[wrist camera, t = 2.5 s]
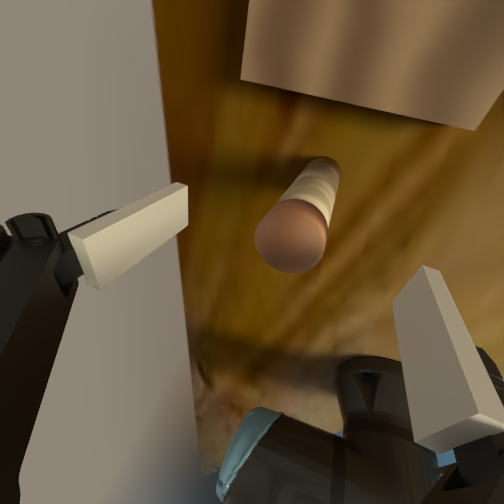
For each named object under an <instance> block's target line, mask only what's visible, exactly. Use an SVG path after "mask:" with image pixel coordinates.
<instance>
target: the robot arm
mask: <svg viewBox="0 0 504 504" xmlns="http://www.w3.org/2000/svg"><path fill="white" fill-rule="evenodd" d="M5 223H6V225H7V227H8V229H9V230H10V232H11V234H12V235H13V236H10V235H8V234H7V232H6V230H5V229H4V227H3V226H1V225H0V504H20V487H19V473H20V468H21V465H22V462H23V459H24V455H25V452H26V449H27V446H28V443H29V440H30V437H31V433H32V430H33V427H34V424H35V421H36V418H37V414H38V411H39V408H40V405H41V402H42V398H43V395H44V392H45V389H46V386H47V383H48V379H49V376H50V373H51V370H52V367H53V364H54V361H55V357H56V354H57V351H58V348H59V345H60V342H61V339H62V335H63V332H64V329H65V326H66V323H67V320H68V316H69V313H70V310H71V307H72V303H73V301H74V297H75V294H76V291H77V288H78V279H77V278H78V277H80V276H81V275H83V274H84V276H85V279H86V281H87V284H89V285H91V286H93V287H95V288H97V289H99V290H102V289H103V288H105V287H106V286H107V285H108V284H110V283H111V282H113V281H114V280H115V279H117V278H118V277H119V276H121V275H122V274H123V273H125V272H126V271H127V270H129V269H130V268H131V267H133V266H134V265H135V264H137V263H138V262H139V261H141V260H142V259H143V258H145V257H146V256H147V255H149V254H150V253H151V252H153V251H154V250H155V249H157V248H158V247H159V246H161V245H162V244H163V243H165V242H166V241H167V240H169V239H170V238H171V237H173V236H174V235H176V234H177V233H178V232H180V231H181V230H182V229H184V228H185V227H186V226H188V186H187V185H184V184H181V183H178V182H176V183H174V184H172V185H169V186H167V187H165V188H163V189H161V190H159V191H156V192H154V193H152V194H150V195H148V196H146V197H144V198H141V199H139V200H137V201H135V202H133V203H131V204H128V205H126V206H124V207H122V208H120V209H116V210H112V211H108V212H105V213H103V214H101V215H99V216H98V217H94V218H92V219H90V220H89V221H85V222H83V223H81V224H79V225H76V226H74V227H72V228H70V229H68V230H66V231H63V232H61V233H59V234H58V232H57V230H56V227H55V225H54V223H53V220H52V218H51V217H50V216H49V215H47V214H43V213H26V214H22V215H17V216H15V217H13V218H10V219H9V220H7V221H6V222H5ZM392 307H393V314H394V320H395V326H396V332H397V338H398V344H399V351H400V357H401V363H399V362H396V361H393V360H389V359H384V358H376V357H360V358H354V359H350V360H348V361H345V362H344V363H342V364H341V365H340V366H339V367H338V368H337V370H336V374H335V390H336V395H337V399H338V403H339V407H340V411H341V415H342V419H343V438H342V437H340V436H337V435H335V434H332V433H330V432H327V431H325V430H322V429H320V428H317V427H315V426H312V425H309V424H307V423H304V422H302V421H299V420H297V419H294V418H292V417H289V416H287V415H284V413H283V412H276V411H273V410H270V409H267V408H264V407H256V408H254V409H252V410H251V411H250V412H249V413H248V414H247V415H246V417H245V418H244V420H243V421H242V423H241V424H240V426H239V428H238V430H237V431H236V433H235V435H234V437H233V439H232V442H231V444H230V446H229V448H228V451H227V453H226V456H225V458H224V461H223V464H222V467H221V470H220V474H219V480H218V482H217V488H216V489H217V495H218V496H219V498H220V500H221V502H225V504H504V381H502V380H503V378H502V376H501V374H500V372H499V370H498V368H497V366H496V364H495V363H494V362H493V360H492V359H491V358H490V357H489V356H488V355H487V353H486V352H485V351H484V350H483V349H482V348H479V347H476V346H475V345H474V343H473V341H472V339H471V337H470V335H469V332H468V330H467V328H466V326H465V324H464V322H463V320H462V317H461V315H460V313H459V311H458V309H457V307H456V305H455V303H454V300H453V298H452V296H451V294H450V292H449V290H448V288H447V286H446V283H445V281H444V279H443V277H442V275H441V273H440V271H438V270H435V269H432V268H429V267H426V266H423V265H422V267H421V268H420V269H419V270H418V271H417V273H416V274H415V275H414V276H413V277H412V278H411V280H410V281H409V282H408V283H407V284H406V286H405V287H404V288H403V289H402V290H401V292H400V293H399V294H398V295H397V296H396V297H395V299H394V300H393V301H392ZM452 449H453V450H454V454H455V458H456V461H457V463H453V464H450V465H447V466H443V467H440V468H439V466H438V461H437V457H436V453H438V454H441V453H443V452H447V451H450V450H452ZM442 473H443V475H442V476H441V474H442Z"/></svg>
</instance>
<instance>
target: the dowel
mask: <svg viewBox="0 0 504 504" xmlns="http://www.w3.org/2000/svg"><path fill="white" fill-rule="evenodd" d="M340 175H341V172H340V168H339V165H338V164H337V162H336V161H335V160H333V159H331V158H329V157H318V158H315V159H313V160H312V161H311V162H310V163H309V164H308V165H307V166H306V167H305V169H304V170H303V171H302V172H301V173H300V175H299V176H298V177H297V178H296V180H295V181H294V182H293V183H292V185H291V186H290V187H289V188H288V190H287V191H286V192H285V193H284V194H283V196H282V197H281V198H280V199H279V201H278V202H277V203H276V204H275V205H274V206H273V207H272V208H271V209H270V211H269V212H268V213H267V214H266V215H265V217H264V218H263V219H262V220H261V222H260V223H259V224H258V226H257V228H256V231H255V246H256V249H257V251H258V253H259V255H260V256H261V257H262V259H263V260H264V261H265V262H266V263H267V264H269V265H270V266H271V267H273V268H275V269H277V270H279V271H282V272H287V273H301V272H305V271H307V270H309V269H311V268H313V267H314V266H315V265H316V264H317V263H318V262H319V261H320V259H321V258H322V255H323V252H324V248H325V243H326V239H327V234H328V227H329V223H330V218H331V214H332V210H333V206H334V201H335V197H336V193H337V189H338V184H339V180H340Z"/></svg>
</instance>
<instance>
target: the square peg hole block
mask: <svg viewBox="0 0 504 504" xmlns="http://www.w3.org/2000/svg"><path fill="white" fill-rule="evenodd" d="M240 79H241V80H246V81H250V82H255V83H259V84H264V85H268V86H273V87H277V88H282V89H286V90H291V91H295V92H300V93H304V94H309V95H314V96H318V97H323V98H327V99H332V100H336V101H341V102H345V103H350V104H354V105H359V106H363V107H368V108H372V109H377V110H381V111H386V112H390V113H395V114H399V115H404V116H409V117H413V118H418V119H422V120H427V121H431V122H436V123H440V124H445V125H449V126H454V127H458V128H463V129H467V130H472V131H475V130H476V128H477V127H478V126H479V124H480V123H481V121H482V120H483V118H484V117H485V115H486V114H487V113H488V111H489V110H490V108H491V107H492V105H493V104H494V102H495V101H496V99H497V98H498V97H499V95H500V94H501V92H502V91H503V89H504V0H249V8H248V17H247V26H246V34H245V43H244V52H243V61H242V70H241V78H240Z"/></svg>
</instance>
